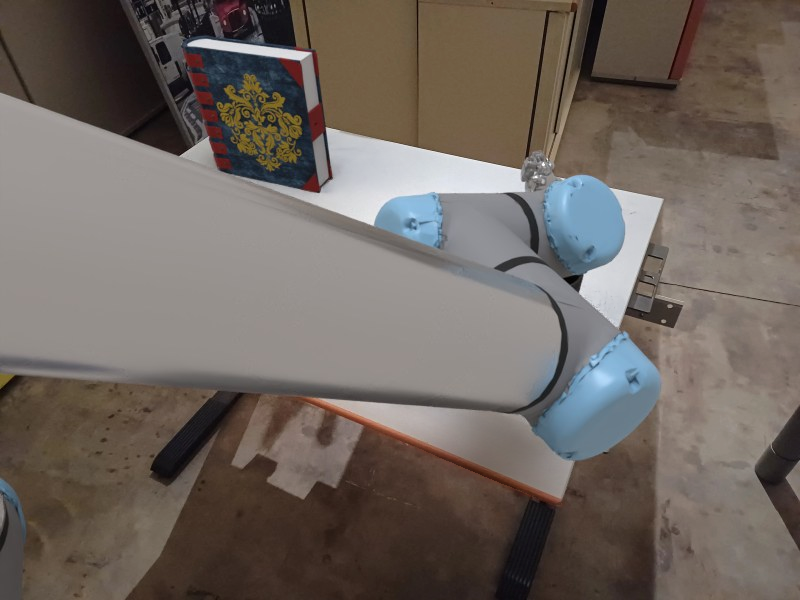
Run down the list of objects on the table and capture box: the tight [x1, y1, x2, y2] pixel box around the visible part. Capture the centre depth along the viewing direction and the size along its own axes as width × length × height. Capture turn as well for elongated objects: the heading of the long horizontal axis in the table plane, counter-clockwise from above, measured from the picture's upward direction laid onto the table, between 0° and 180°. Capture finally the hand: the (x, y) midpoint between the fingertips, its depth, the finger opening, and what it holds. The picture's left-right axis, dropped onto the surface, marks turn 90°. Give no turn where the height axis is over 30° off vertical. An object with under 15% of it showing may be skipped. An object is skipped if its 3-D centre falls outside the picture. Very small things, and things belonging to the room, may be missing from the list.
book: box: [181, 35, 333, 194], centre depth 103 cm, size 25×7×25 cm, turn 67°
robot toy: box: [520, 149, 563, 192], centre depth 88 cm, size 15×6×15 cm, turn 144°
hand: (382, 300), depth 76 cm, fingers closed on pill bottle, 5 cm apart
